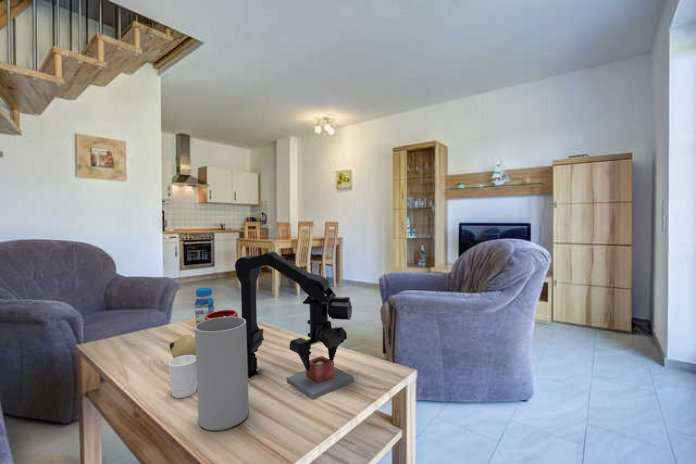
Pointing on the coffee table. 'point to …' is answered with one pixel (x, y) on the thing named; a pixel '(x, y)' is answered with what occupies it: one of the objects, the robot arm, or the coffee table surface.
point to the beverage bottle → (203, 304)
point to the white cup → (183, 376)
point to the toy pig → (183, 346)
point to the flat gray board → (322, 388)
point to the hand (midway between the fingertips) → (319, 366)
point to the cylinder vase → (221, 372)
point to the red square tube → (320, 370)
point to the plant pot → (221, 314)
